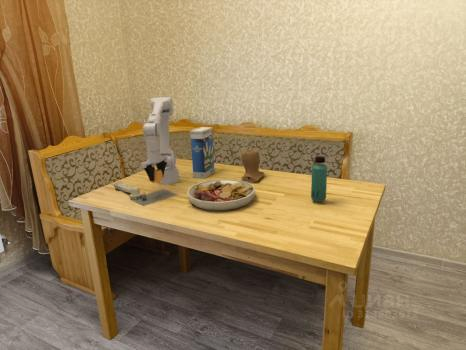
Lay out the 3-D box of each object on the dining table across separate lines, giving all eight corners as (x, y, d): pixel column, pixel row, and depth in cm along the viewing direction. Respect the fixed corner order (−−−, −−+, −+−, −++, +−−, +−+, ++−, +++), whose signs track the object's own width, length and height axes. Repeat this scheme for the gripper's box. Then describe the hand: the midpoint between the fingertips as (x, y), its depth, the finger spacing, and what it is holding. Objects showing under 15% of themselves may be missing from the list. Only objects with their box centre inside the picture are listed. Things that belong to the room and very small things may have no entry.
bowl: (209, 185, 170) (208, 170, 167) (264, 193, 157) (264, 177, 154) (174, 207, 144) (173, 190, 142) (237, 218, 131) (237, 199, 129)
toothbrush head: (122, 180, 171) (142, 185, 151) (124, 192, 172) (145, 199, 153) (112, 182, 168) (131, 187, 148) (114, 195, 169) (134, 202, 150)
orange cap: (159, 178, 156) (158, 168, 154) (164, 181, 152) (163, 170, 151) (149, 181, 153) (148, 170, 151) (154, 183, 149) (153, 172, 148)
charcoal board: (163, 190, 164) (162, 182, 162) (178, 196, 155) (177, 187, 154) (129, 201, 152) (128, 192, 150) (143, 208, 143) (142, 198, 142)
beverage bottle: (326, 199, 146) (329, 155, 140) (325, 205, 140) (327, 159, 134) (311, 198, 148) (313, 154, 142) (309, 204, 142) (311, 158, 136)
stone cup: (246, 173, 187) (245, 147, 182) (266, 175, 182) (266, 148, 178) (235, 181, 173) (234, 153, 169) (257, 184, 169) (257, 155, 164)
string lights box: (205, 178, 180) (202, 131, 172) (192, 177, 182) (189, 130, 175) (215, 171, 191) (212, 127, 184) (203, 170, 194) (200, 126, 186)
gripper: (158, 146, 156) (161, 173, 160) (134, 152, 144) (138, 182, 148) (169, 147, 153) (172, 175, 157) (146, 154, 141) (150, 184, 145)
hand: (156, 179), depth 152 cm, fingers closed on orange cap, 5 cm apart
